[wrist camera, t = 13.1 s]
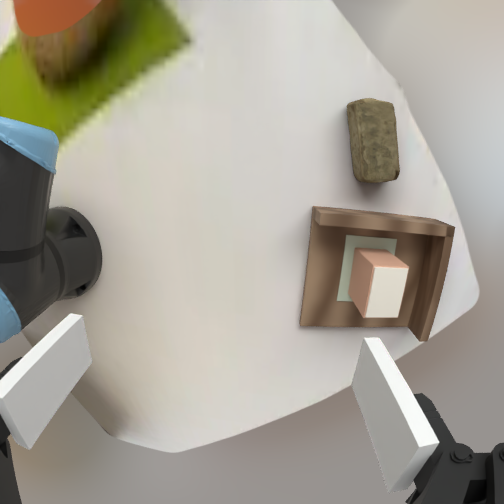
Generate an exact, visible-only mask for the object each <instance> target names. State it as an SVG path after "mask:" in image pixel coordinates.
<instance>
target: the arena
mask: <svg viewBox="0 0 504 504" xmlns="http://www.w3.org/2000/svg"><path fill="white" fill-rule="evenodd" d="M454 231H455V227H454V226H451V225H449V224H446V223H444V222H441V221H439V220H436V219H431V218H423V217H415V216H407V215H398V214H389V213H380V212H371V211H361V210H351V209H341V208H330V207H318V206H313V209H312V220H311V231H310V241H309V250H308V259H307V268H306V277H305V285H304V293H303V301H302V309H301V316H300V326H323V327H408V328H409V329H410V330H411V331H412V333H413V334H414V335H415V336H416V338H417V339H418V340H419V341H420V342H421V341H427V340H428V338H429V335H430V331H431V328H432V325H433V322H434V318H435V315H436V311H437V308H438V304H439V300H440V297H441V293H442V289H443V285H444V280H445V276H446V272H447V267H448V263H449V258H450V253H451V248H452V242H453V237H454ZM346 235H355V236H367V237H379V238H391V239H397V243H396V249H395V255H394V256H396V257H397V258H398V259H400V260H401V261H402V262H403V263H405V264H406V265H407V266H409V270H408V275H407V280H406V285H405V289H404V294H403V298H402V303H401V307H400V311H399V315H398V318H363V317H362V315H361V313H360V312H359V310H358V308H357V307H356V305H355V304H354V302H353V301H337V295H338V289H339V283H340V276H341V270H342V263H343V256H344V248H345V240H346Z"/></svg>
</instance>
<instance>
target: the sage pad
mask: <svg viewBox="0 0 504 504" xmlns="http://www.w3.org/2000/svg"><path fill="white" fill-rule="evenodd" d="M396 243H397V239H391V238H379V237H367V236H355V235H346V240H345V248H344V256H343V263H342V270H341V276H340V283H339V289H338V295H337V301H353V300H352V299H351V297H350V296H349V294H348V290H349V284H350V277H351V271H352V264H353V257H354V250H355V248H371V249H386V250H388V251H389V252H390V253H392V254H393V255H395V249H396Z"/></svg>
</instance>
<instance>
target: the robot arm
mask: <svg viewBox="0 0 504 504" xmlns="http://www.w3.org/2000/svg"><path fill="white" fill-rule="evenodd" d="M58 148H59V141H58V138H57V136H56V134H55V133H54V132H52V131H51V130H48V129H44V128H41V127H38V126H34V125H30V124H27V123H23V122H20V121H16V120H12V119H8V118H5V117H1V116H0V343H3V342H5V341H6V340H8V339H9V338H10V337H12V336H13V335H15V334H18V333H19V332H20V331H21V330H22V329H23V328H24V327H26V326H27V325H28V324H29V323H30V322H31V321H33V320H34V319H35V318H36V317H37V316H38V315H40V314H41V313H42V312H43V311H44V310H46V309H47V308H48V307H49V306H50V305H52V304H53V303H54V302H55V301H59V300H65V299H71V298H75V297H78V296H80V295H82V294H84V293H85V292H86V291H87V290H89V289H90V288H91V287H92V286H93V285H94V284H95V282H96V281H97V279H98V277H99V274H100V271H101V265H102V252H101V246H100V243H99V239H98V237H97V234H96V232H95V230H94V229H93V227H92V225H91V224H90V223H89V221H88V220H87V219H86V218H85V217H84V216H83V215H82V214H80V213H79V212H77V211H76V210H74V209H71V208H68V207H55V208H51V209H49V202H50V196H51V190H52V184H53V179H54V174H56V169H55V165H56V159H57V153H58ZM91 363H92V358H91V354H90V349H89V344H88V340H87V335H86V330H85V325H84V319H83V315H77V314H72V313H70V314H69V315H68V316H67V317H66V318H65V319H63V320H62V321H61V322H60V323H59V324H58V325H57V326H56V327H55V328H54V329H52V330H51V331H50V332H49V333H48V334H47V335H46V336H45V337H44V338H43V339H42V340H41V341H40V342H39V343H37V344H36V345H35V346H34V347H33V348H32V349H31V350H30V351H29V352H28V353H27V354H26V355H25V356H24V357H23V358H22V357H20V358H18V359H16V360H14V361H12V362H11V363H10V364H9V365H8V366H7V367H6V368H5V370H3V371H2V372H1V373H0V504H22V503H21V499H20V495H19V491H18V486H17V482H16V477H15V472H14V467H13V461H12V455H11V449H10V444H9V441H8V439H7V438H8V436H9V435H10V434H11V435H12V437H13V439H14V440H15V442H16V443H17V444H19V445H21V446H23V447H25V448H27V449H31V447H32V446H33V444H34V443H35V441H36V440H37V438H38V437H39V436H40V434H41V433H42V431H43V429H44V428H45V427H46V425H47V424H48V422H49V421H50V420H51V418H52V417H53V415H54V414H55V412H56V411H57V410H58V408H59V407H60V405H61V404H62V402H63V401H64V400H65V398H66V397H67V396H68V394H69V393H70V391H71V390H72V389H73V387H74V386H75V385H76V383H77V382H78V381H79V379H80V378H81V377H82V375H83V374H84V372H85V371H86V370H87V368H88V367H89V366H90V365H91ZM351 385H352V388H353V390H354V393H355V396H356V399H357V402H358V404H359V407H360V410H361V413H362V416H363V418H364V421H365V424H366V427H367V430H368V433H369V436H370V439H371V441H372V444H373V448H374V451H375V454H376V456H377V460H378V463H379V465H380V469H381V472H382V475H383V478H384V481H385V484H386V487H387V491H388V493H391V492H396V491H401V490H405V489H407V488H408V487H409V486H410V485H411V483H412V482H413V481H414V483H415V485H416V489H415V491H414V492H413V493H412V494H411V496H410V497H409V498H408V499H407V500H406V503H407V504H504V443H499V444H498V445H496V446H495V448H494V449H493V450H492V452H491V453H474V452H473V450H472V449H470V447H468V446H466V445H464V444H460V443H456V442H455V440H454V439H453V436H452V435H451V433H450V431H449V430H448V428H447V426H446V425H445V423H444V421H443V419H442V418H440V414H439V413H438V411H436V408H435V406H434V404H433V403H432V401H431V400H430V399H428V398H427V397H426V396H425V395H423V394H422V393H420V394H412V392H411V390H410V389H409V387H408V385H407V383H406V381H405V380H404V378H403V376H402V375H401V373H400V371H399V370H398V368H397V366H396V365H395V363H394V361H393V359H392V358H391V356H390V354H389V353H388V351H387V349H386V348H385V346H384V345H383V343H382V341H381V340H380V338H379V337H378V338H364V340H363V344H362V348H361V351H360V355H359V359H358V363H357V366H356V370H355V374H354V377H353V381H352V384H351Z"/></svg>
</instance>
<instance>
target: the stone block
mask: <svg viewBox="0 0 504 504" xmlns="http://www.w3.org/2000/svg"><path fill="white" fill-rule="evenodd" d="M347 115H348V125H349V132H350V144H351V154H352V163H353V171H354V175H355V177H356V178H357V180H359V181H360V182H367V183H378V182H387V181H392V180H396V179H397V178H398V176H399V172H400V168H399V155H398V143H397V133H396V117H395V113H394V107H393V104H392V103H389V102H385V101H379V100H376V99H372V98H366V99H360V100H357V101H354V102H351V103H349V104H348V105H347Z"/></svg>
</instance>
